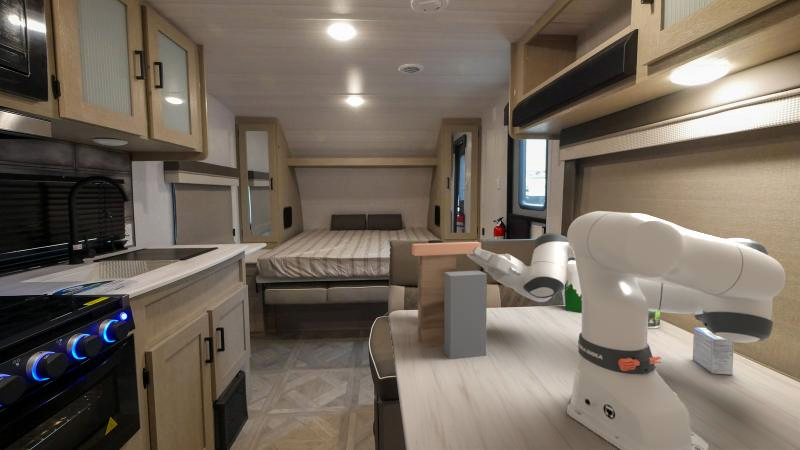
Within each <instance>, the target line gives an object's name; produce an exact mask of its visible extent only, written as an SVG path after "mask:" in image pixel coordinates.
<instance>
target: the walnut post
mask: <svg viewBox="0 0 800 450" xmlns="http://www.w3.org/2000/svg"><path fill="white" fill-rule="evenodd" d="M457 255H458V254H447V255H423V256H417V316H418V317H417V339H418V340H417V341H418V342H419V344H420V346H421V347H422V348H431V347H439V346H440V347H441V346H444V272H458V271H457V263H458V262H457Z"/></svg>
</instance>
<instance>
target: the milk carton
mask: <svg viewBox="0 0 800 450" xmlns="http://www.w3.org/2000/svg"><path fill="white" fill-rule="evenodd" d="M564 305H565V311H569V312H573V313H574V312H575V313H579V314H582V294H581V287H580V282H579V276H578V271H577V267H576V262H575V260H568V265H567V274H566V281H565V286H564Z"/></svg>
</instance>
